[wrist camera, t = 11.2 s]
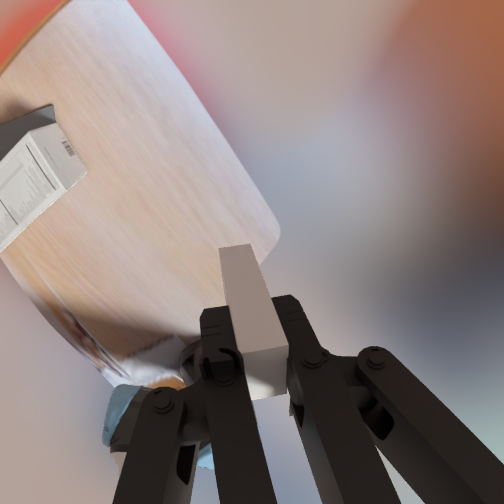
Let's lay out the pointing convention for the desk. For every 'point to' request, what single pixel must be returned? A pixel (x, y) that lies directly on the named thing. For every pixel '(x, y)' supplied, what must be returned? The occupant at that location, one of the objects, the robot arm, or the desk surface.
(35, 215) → the supplement box
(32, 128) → the mat
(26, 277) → the desk surface
